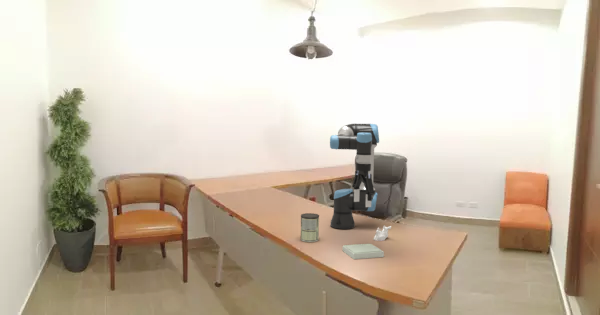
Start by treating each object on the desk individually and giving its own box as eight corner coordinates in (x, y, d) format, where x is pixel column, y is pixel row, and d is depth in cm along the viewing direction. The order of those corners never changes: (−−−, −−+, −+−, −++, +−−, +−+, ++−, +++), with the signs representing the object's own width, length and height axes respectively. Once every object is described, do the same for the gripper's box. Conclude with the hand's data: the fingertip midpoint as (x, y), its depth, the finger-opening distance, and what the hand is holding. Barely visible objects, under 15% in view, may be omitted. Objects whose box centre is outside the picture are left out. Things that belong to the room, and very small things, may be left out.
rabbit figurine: (386, 238, 232) (387, 222, 232) (395, 241, 226) (396, 224, 225) (370, 240, 226) (371, 223, 226) (379, 244, 220) (379, 226, 219)
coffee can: (297, 238, 229) (298, 213, 228) (314, 236, 233) (314, 212, 232) (304, 242, 219) (304, 217, 218) (321, 241, 223) (322, 216, 222)
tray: (342, 250, 206) (342, 245, 206) (370, 248, 210) (370, 243, 210) (353, 259, 192) (354, 253, 192) (383, 256, 197) (383, 250, 197)
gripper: (346, 160, 214) (345, 199, 216) (368, 165, 191) (366, 209, 193) (359, 160, 217) (358, 199, 218) (382, 165, 193) (380, 209, 195)
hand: (362, 204), depth 206 cm, fingers open, 13 cm apart
